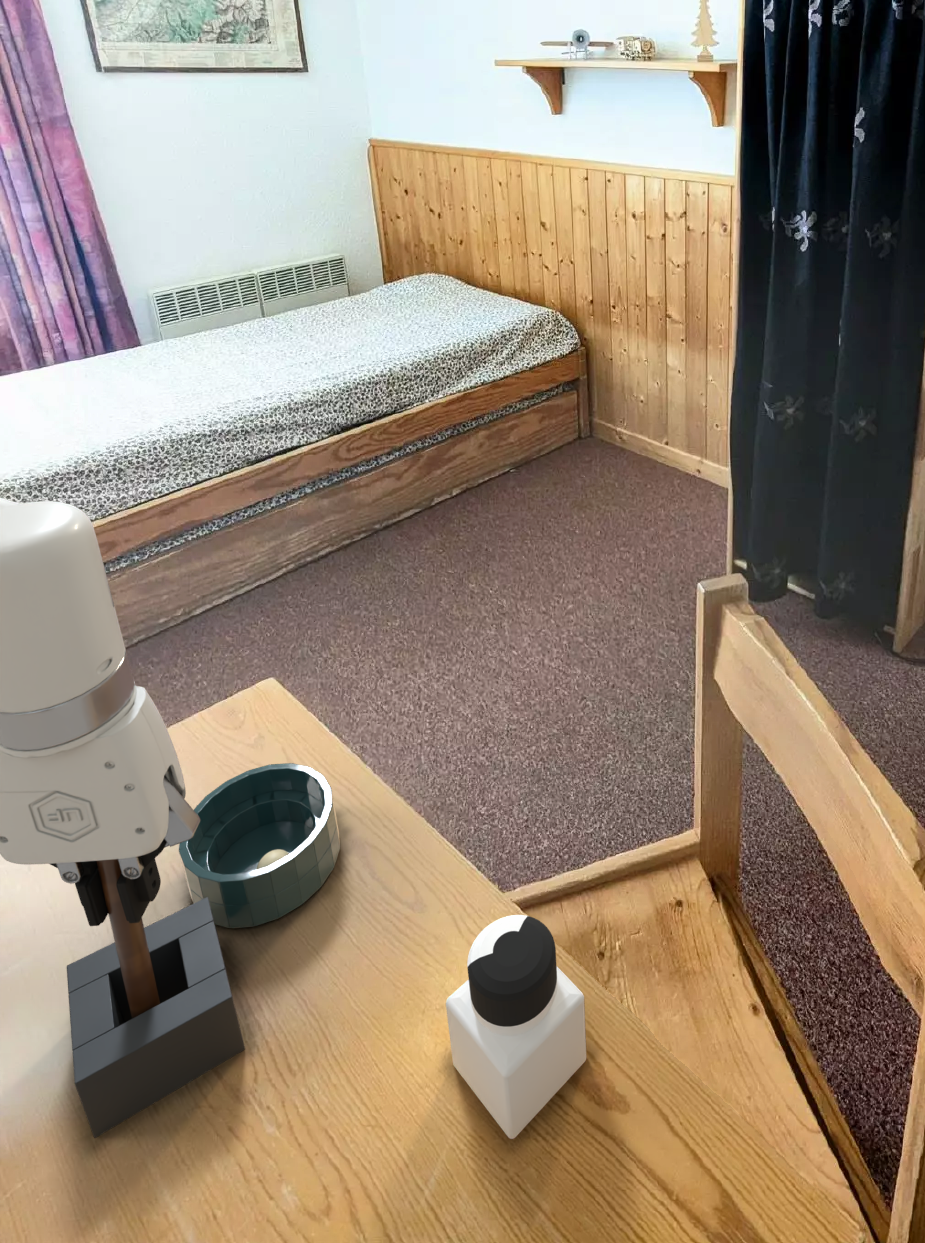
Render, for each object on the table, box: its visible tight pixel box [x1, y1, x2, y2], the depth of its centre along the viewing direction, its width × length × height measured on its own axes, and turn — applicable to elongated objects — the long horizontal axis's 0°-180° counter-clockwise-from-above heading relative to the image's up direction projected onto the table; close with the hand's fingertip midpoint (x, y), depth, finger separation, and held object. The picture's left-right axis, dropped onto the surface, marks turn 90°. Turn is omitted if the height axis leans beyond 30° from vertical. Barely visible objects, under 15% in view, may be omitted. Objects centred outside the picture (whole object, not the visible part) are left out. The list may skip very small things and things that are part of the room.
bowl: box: [178, 762, 341, 929], centre depth 77 cm, size 12×12×6 cm
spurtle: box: [97, 859, 160, 1019], centre depth 61 cm, size 2×2×18 cm
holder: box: [66, 897, 246, 1139], centre depth 64 cm, size 10×10×6 cm
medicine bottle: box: [445, 914, 587, 1140], centre depth 61 cm, size 7×7×12 cm
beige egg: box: [257, 849, 289, 869], centre depth 76 cm, size 3×3×3 cm
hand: (125, 904), depth 60 cm, fingers closed on spurtle, 1 cm apart
